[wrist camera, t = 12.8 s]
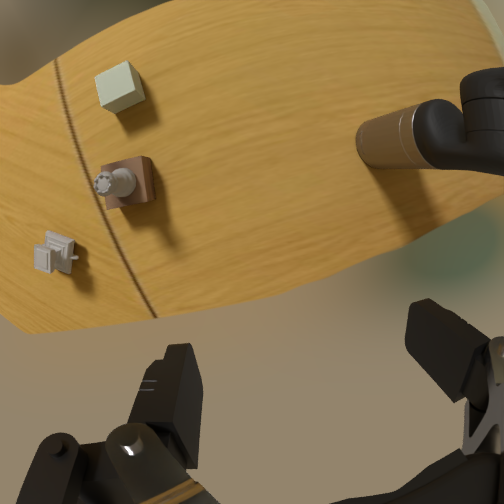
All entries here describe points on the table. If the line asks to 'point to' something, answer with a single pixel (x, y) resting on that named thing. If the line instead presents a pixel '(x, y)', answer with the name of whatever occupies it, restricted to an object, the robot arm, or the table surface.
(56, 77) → the table surface
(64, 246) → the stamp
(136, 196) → the walnut block
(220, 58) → the table surface
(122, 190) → the rook chess piece
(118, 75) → the sage block
